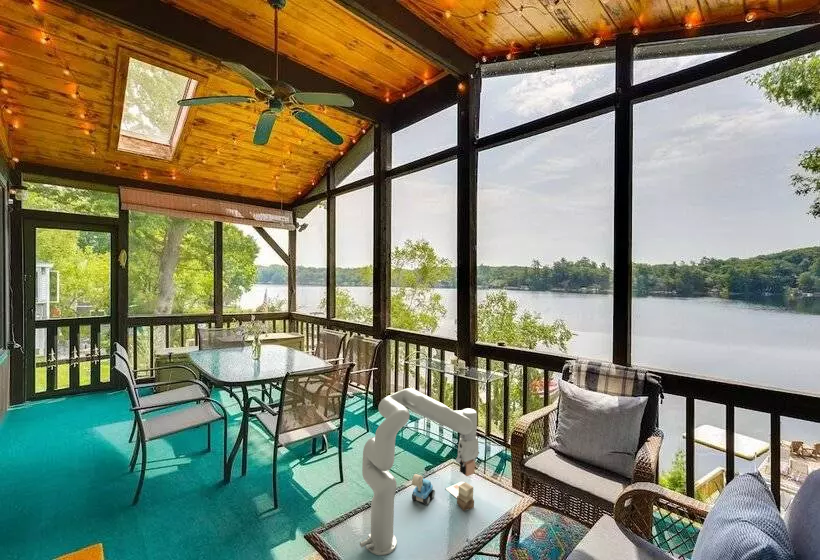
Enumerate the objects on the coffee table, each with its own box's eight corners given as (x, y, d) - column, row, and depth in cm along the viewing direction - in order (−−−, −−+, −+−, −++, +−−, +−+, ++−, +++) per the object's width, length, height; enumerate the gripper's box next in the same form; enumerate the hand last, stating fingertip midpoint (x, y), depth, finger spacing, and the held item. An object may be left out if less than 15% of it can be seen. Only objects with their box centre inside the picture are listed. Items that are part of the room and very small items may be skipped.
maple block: (466, 502, 181) (466, 491, 181) (458, 497, 185) (458, 485, 185) (472, 498, 185) (473, 487, 184) (465, 493, 188) (465, 482, 188)
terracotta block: (466, 476, 181) (467, 464, 180) (459, 471, 185) (460, 459, 184) (474, 473, 184) (474, 461, 183) (467, 468, 188) (467, 456, 187)
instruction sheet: (456, 498, 191) (456, 497, 191) (445, 488, 198) (445, 488, 198) (473, 490, 197) (474, 489, 197) (462, 481, 205) (462, 481, 205)
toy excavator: (405, 509, 182) (406, 474, 180) (420, 490, 196) (421, 458, 195) (421, 515, 178) (422, 480, 176) (435, 495, 192) (436, 463, 191)
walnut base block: (463, 511, 181) (463, 503, 181) (456, 503, 187) (457, 495, 187) (473, 508, 184) (474, 500, 184) (467, 500, 189) (467, 493, 189)
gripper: (460, 443, 175) (459, 480, 176) (486, 433, 185) (485, 469, 186) (449, 436, 181) (448, 472, 182) (475, 427, 191) (474, 462, 192)
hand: (467, 470), depth 184 cm, fingers closed on terracotta block, 5 cm apart
